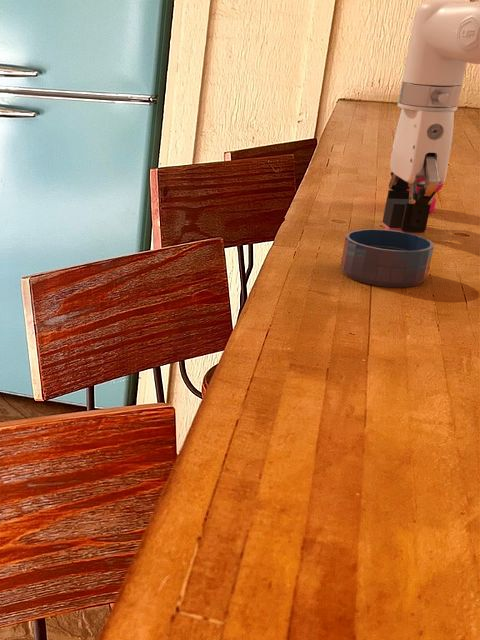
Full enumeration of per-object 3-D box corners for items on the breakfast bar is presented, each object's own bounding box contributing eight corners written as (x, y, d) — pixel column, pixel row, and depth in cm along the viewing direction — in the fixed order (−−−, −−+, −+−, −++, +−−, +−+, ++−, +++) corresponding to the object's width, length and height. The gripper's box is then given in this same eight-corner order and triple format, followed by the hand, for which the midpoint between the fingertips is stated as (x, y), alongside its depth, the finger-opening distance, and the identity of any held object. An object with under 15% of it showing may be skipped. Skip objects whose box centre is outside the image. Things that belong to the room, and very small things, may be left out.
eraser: (416, 226, 130) (422, 199, 128) (424, 232, 126) (430, 205, 125) (381, 225, 130) (386, 198, 128) (388, 231, 127) (393, 203, 125)
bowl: (410, 265, 112) (417, 230, 110) (438, 290, 103) (446, 253, 101) (331, 262, 113) (336, 227, 111) (351, 286, 104) (358, 249, 102)
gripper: (483, 106, 113) (452, 241, 120) (434, 90, 128) (410, 210, 136) (422, 105, 113) (395, 239, 120) (381, 89, 129) (360, 208, 136)
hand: (403, 223), depth 128 cm, fingers open, 7 cm apart
